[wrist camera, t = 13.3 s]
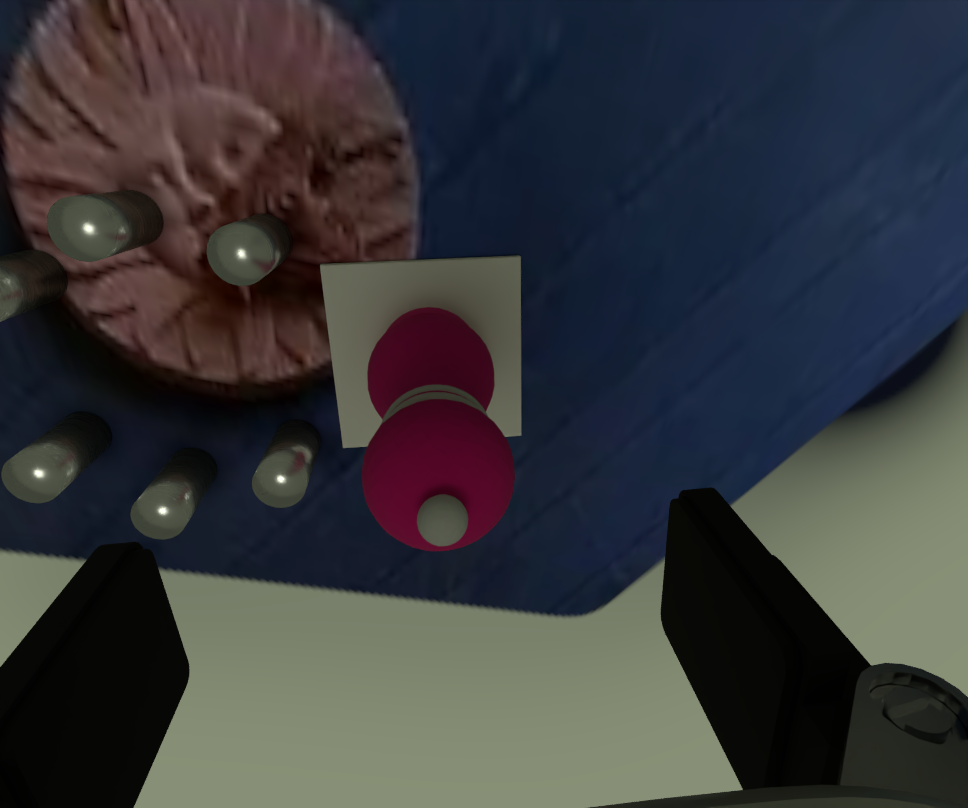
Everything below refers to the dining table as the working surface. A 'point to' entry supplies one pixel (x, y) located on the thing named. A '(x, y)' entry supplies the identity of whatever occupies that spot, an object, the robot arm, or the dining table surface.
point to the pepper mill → (435, 434)
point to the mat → (410, 285)
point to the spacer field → (84, 436)
